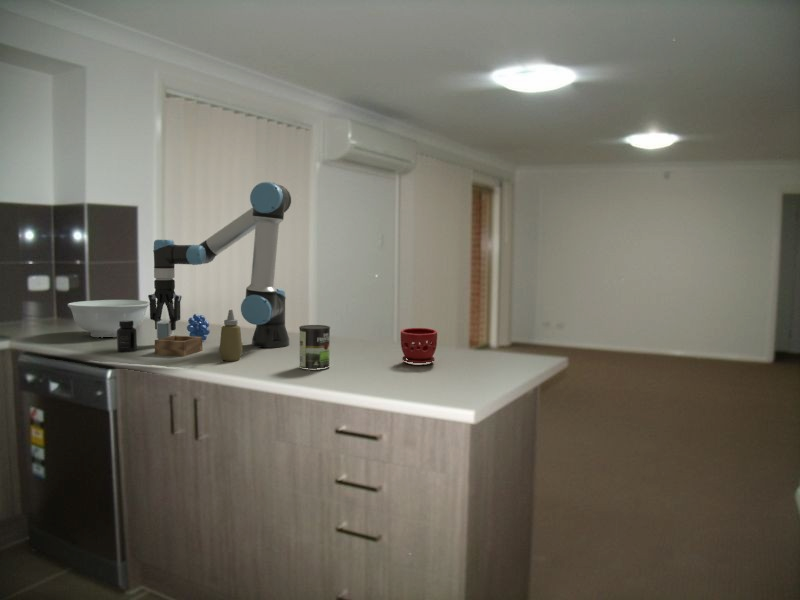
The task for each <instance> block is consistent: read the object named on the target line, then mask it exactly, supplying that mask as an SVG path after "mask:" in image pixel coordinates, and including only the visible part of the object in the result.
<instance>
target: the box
mask: <svg viewBox="0 0 800 600" xmlns="http://www.w3.org/2000/svg"><path fill="white" fill-rule="evenodd" d="M200 352H203V340H202V337H192V336H188V335H175V334H174V336H170V337H166V338H161V339H158V338H156V339H155V340H154V355H161V356H171V357H172V356H173V357H187V356H190V355H193V354H197V353H200Z"/></svg>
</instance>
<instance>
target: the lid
mask: <svg viewBox="0 0 800 600" xmlns="http://www.w3.org/2000/svg"><path fill="white" fill-rule="evenodd" d="M168 322H169V321H168ZM168 322H166V321H162V323H158V338H157V339H161V338H166V337H168Z"/></svg>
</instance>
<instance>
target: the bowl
mask: <svg viewBox="0 0 800 600" xmlns="http://www.w3.org/2000/svg"><path fill="white" fill-rule="evenodd" d="M67 307H68V308H69V309H70V311H71V313H72V317H73V320H74V323H75V325H77V326H78V327H79V328H80V329H82V330H84V331H88V332H89V333H90V336H91V337H92V338H99V337H101V339H102V338H103V337H113V338H117V330H118V329H119V328H120V326H119V321H125V320H132V321H133V324H134V326H133V327H134V328H135V329H136V328H137V327H139V326H140V325H141V324H142V323H143V322H144V320H145V316H146V312H147V309H148V307H150V301H146V300H138V299H103V300H102V299H100V300H99V299H98V300H97V299H96V300H83V301H73V302H70V303H67ZM103 339H104V338H103Z"/></svg>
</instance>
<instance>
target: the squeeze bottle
mask: <svg viewBox="0 0 800 600" xmlns="http://www.w3.org/2000/svg"><path fill="white" fill-rule="evenodd" d="M223 322H224V323H223V326H222V327H221V329H220V330H221V331H220V340H219V341H220V342H219V353H220V356H221V359H222V360H223V361H225V362H234V361H235V362H237V361H239V360H240V359H241V356H242V353H243V342H242V333H241V332H242V331H241V327H240V326H239V325H238V319H235V315H234V311H233V309H229V310H228V313H227V317H226V319H224V320H223Z"/></svg>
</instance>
